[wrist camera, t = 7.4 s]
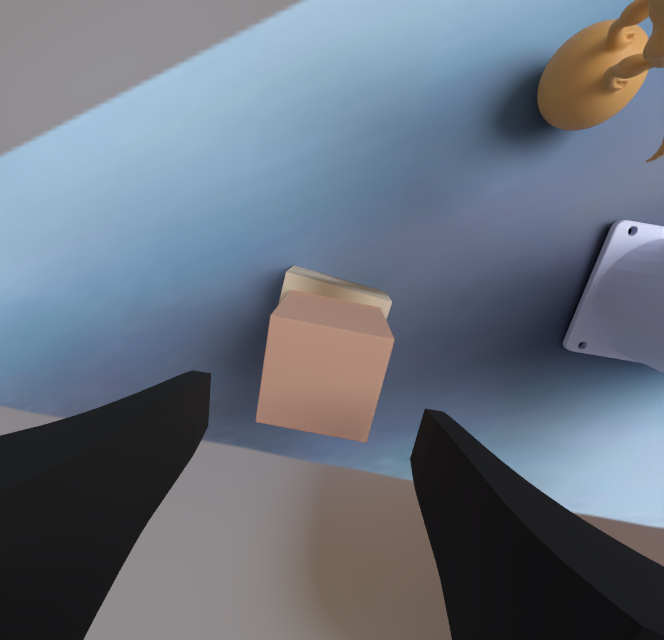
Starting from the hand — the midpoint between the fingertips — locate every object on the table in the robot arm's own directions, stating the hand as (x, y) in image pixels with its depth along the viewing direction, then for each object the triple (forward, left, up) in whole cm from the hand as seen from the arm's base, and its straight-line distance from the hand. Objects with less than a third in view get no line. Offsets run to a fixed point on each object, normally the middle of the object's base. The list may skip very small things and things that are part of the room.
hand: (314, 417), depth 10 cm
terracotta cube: (0, 0, -8) cm, 8 cm away
